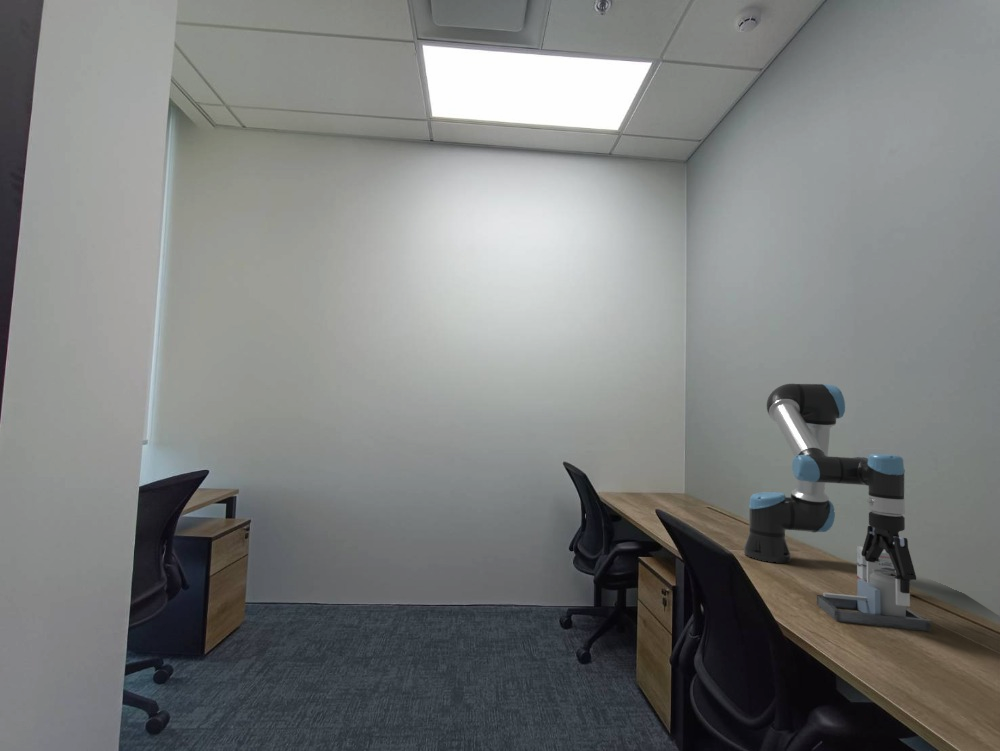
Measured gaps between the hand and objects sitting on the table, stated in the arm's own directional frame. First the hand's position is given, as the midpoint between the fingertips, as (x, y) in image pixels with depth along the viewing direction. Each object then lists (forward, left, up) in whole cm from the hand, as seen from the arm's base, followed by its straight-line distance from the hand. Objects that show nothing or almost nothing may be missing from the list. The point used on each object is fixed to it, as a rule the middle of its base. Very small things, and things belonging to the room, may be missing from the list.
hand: (887, 595), depth 130 cm
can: (0, 0, -6) cm, 6 cm away
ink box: (-26, +10, -6) cm, 28 cm away
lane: (0, -4, -6) cm, 7 cm away
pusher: (0, -9, -6) cm, 11 cm away
